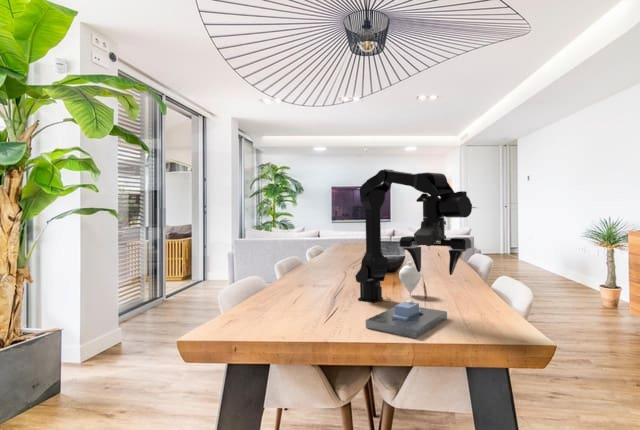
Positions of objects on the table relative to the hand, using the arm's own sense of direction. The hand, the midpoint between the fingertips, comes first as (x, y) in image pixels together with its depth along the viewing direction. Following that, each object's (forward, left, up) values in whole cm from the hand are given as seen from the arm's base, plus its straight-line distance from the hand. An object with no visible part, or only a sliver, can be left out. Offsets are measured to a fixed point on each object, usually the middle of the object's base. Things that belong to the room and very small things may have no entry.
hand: (434, 273), depth 103 cm
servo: (-4, -9, -12) cm, 16 cm away
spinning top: (-18, +22, -13) cm, 31 cm away
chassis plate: (-4, -9, -12) cm, 16 cm away
